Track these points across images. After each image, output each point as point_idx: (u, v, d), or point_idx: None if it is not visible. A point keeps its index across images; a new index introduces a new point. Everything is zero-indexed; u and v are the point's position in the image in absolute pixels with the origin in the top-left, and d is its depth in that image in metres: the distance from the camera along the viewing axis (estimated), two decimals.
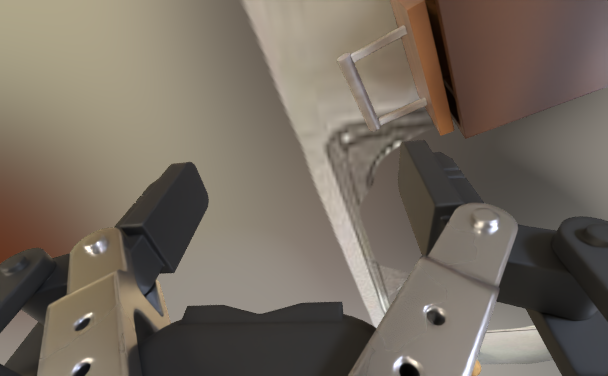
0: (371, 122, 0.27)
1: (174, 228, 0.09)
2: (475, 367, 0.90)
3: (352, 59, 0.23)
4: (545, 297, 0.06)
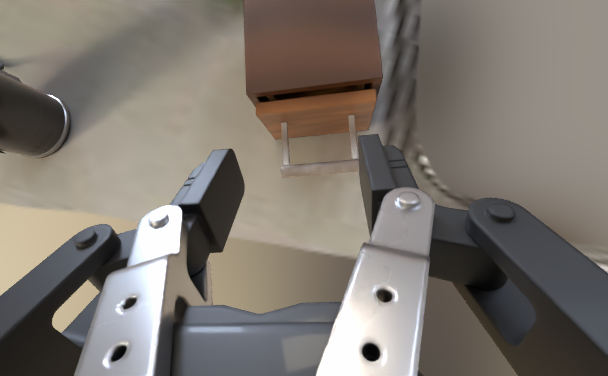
0: (349, 165, 0.27)
1: (221, 210, 0.10)
2: None
3: (285, 164, 0.28)
4: (460, 269, 0.07)
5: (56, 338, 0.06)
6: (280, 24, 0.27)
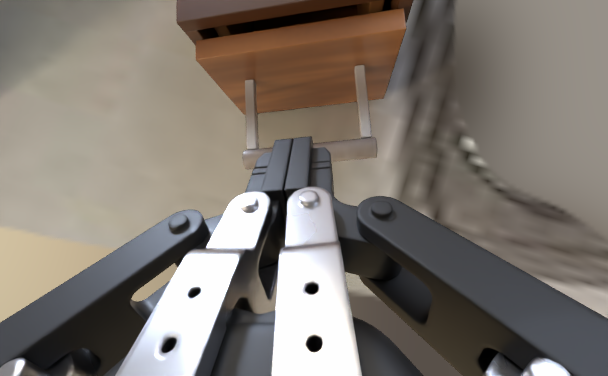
0: (356, 147, 0.16)
1: None
2: None
3: (251, 148, 0.17)
4: (354, 261, 0.07)
5: (132, 315, 0.07)
6: None
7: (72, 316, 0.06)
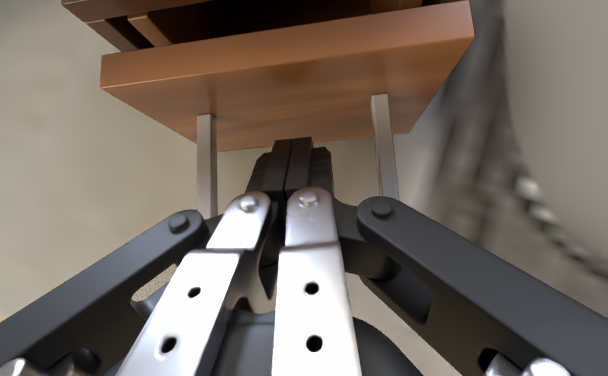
0: None
1: None
2: None
3: None
4: (354, 261, 0.07)
5: (132, 315, 0.07)
6: None
7: (72, 316, 0.06)
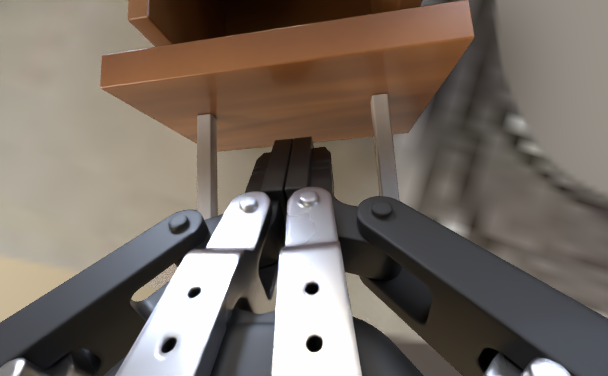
0: None
1: None
2: None
3: None
4: (354, 261, 0.07)
5: (132, 315, 0.07)
6: None
7: (72, 316, 0.06)
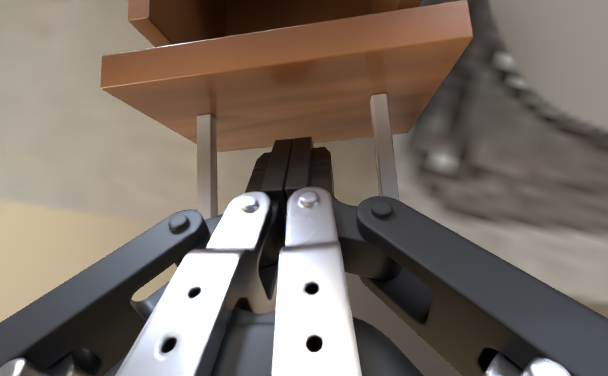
0: None
1: None
2: None
3: None
4: (354, 261, 0.07)
5: (132, 315, 0.07)
6: None
7: (72, 316, 0.06)
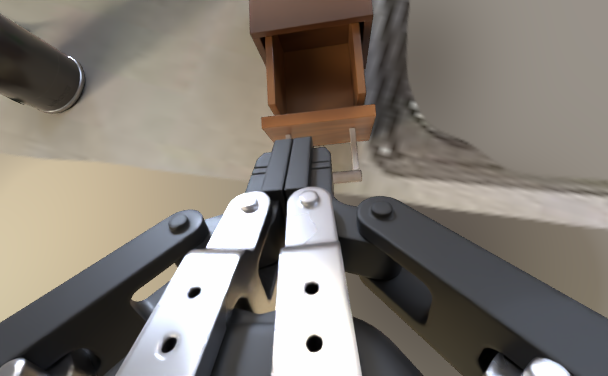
0: (350, 176, 0.28)
1: None
2: None
3: None
4: (354, 261, 0.07)
5: (132, 315, 0.07)
6: None
7: (72, 316, 0.06)
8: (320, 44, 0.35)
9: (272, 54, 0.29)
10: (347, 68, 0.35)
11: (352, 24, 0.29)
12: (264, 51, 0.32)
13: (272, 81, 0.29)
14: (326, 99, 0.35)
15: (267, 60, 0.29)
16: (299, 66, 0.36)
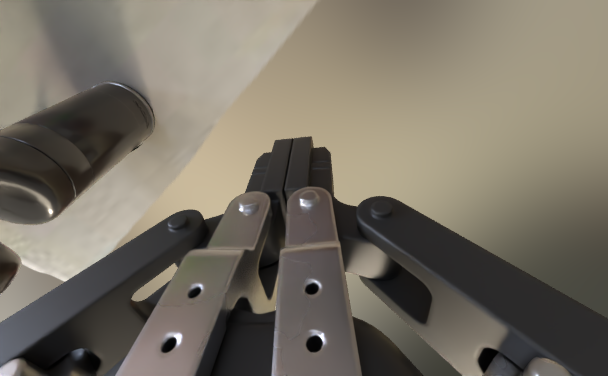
0: None
1: None
2: None
3: None
4: (354, 261, 0.07)
5: (132, 315, 0.07)
6: None
7: (72, 316, 0.06)
8: None
9: None
10: None
11: None
12: None
13: None
14: None
15: None
16: None
